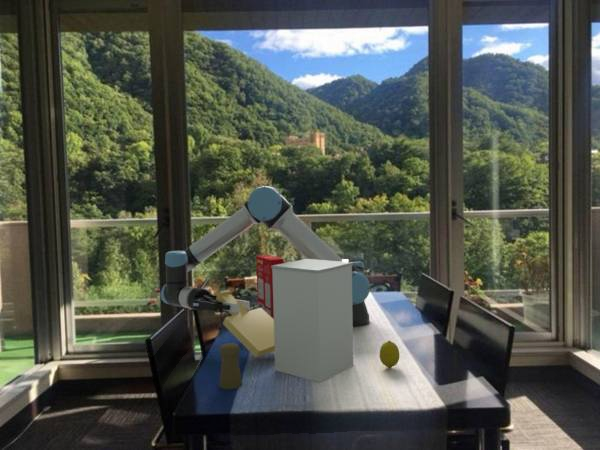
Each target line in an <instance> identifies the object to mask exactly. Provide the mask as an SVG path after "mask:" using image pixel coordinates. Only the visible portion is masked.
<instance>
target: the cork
mask: <svg viewBox="0 0 600 450" xmlns="http://www.w3.org/2000/svg"><path fill="white" fill-rule="evenodd" d="M240 350H241V349H240V346H239V345H238V344H237V343H233V342H228V343H224V344H222V345H220V348H219V353H220V357H221V365H220V373H219V374H220V375H219V388H220V389H223V390H235V389H236V390H237V389H239V388H240V387H242V385H243V381H242V375H241V368H240V362H239V355H240Z"/></svg>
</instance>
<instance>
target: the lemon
mask: <svg viewBox="0 0 600 450" xmlns="http://www.w3.org/2000/svg"><path fill="white" fill-rule="evenodd" d="M398 347H399V346H397V344H396V342H392V341H391V340H387V341H385V342H384V343H383V344H382V345H381V346H380V349H379V359H380V362H381V363H382V364H383V366H385V367H387V368H388V369H391V368H393V367H395V366H396V365H397V364H398V363H399V360H400V350H399V348H398Z"/></svg>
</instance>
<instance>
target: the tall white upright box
mask: <svg viewBox="0 0 600 450" xmlns="http://www.w3.org/2000/svg"><path fill="white" fill-rule="evenodd" d="M352 262H353V261H350V262H340V261H328V260H317V259H306V258H305V259H304V258H303V259H300V260H294V261H293V260H292V261H290V262H289V261H288V262H284V263H283V264H278V265H273V266H271V269H272V272H273V309H274V346H275V351H274V370H275V371H276V372H281V373H282V374H283V373H284V374H288V375H291V376H295V377H299V378H303V379H306V380H309V381H314V382H318V383H322V382H324V381H326V380H329V379H330V378H332V377H335V376H337V374H339V373H342V372H344V371H346V370H348V369H349V368H351V367H353V366H354V332H353V331H354V329H353V328H354V326H353V313H352V265H353V263H352Z"/></svg>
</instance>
